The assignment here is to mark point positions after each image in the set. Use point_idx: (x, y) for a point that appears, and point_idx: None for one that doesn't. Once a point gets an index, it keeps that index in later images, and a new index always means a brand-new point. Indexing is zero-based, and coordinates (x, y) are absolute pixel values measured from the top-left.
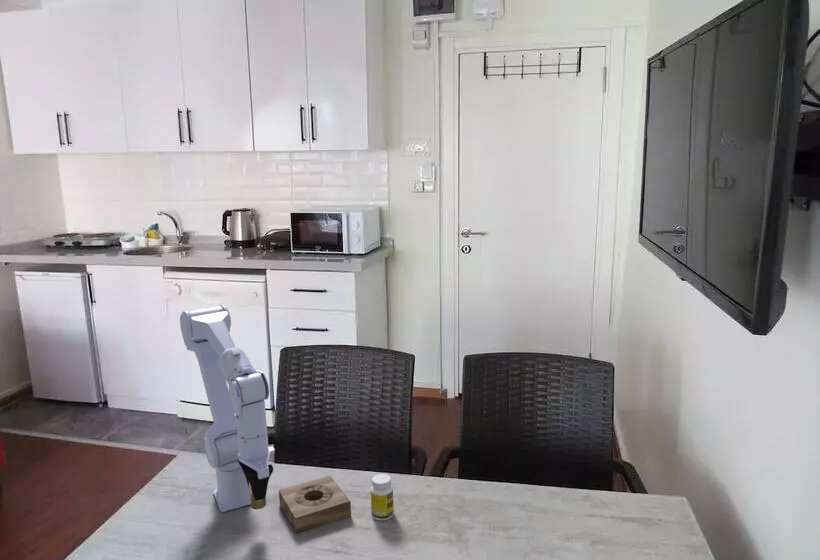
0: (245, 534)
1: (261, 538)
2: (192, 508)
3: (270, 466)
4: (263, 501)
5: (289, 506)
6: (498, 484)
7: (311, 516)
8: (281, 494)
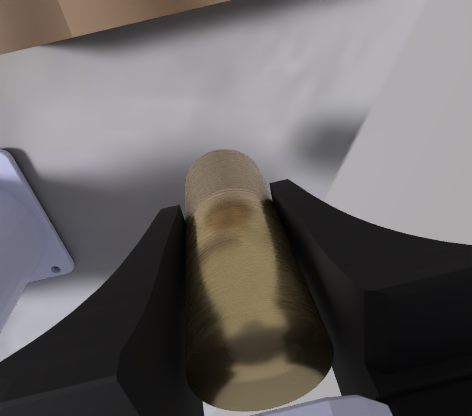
0: None
1: (271, 134)
2: (34, 338)
3: (451, 302)
4: (258, 175)
5: (193, 2)
6: None
7: None
8: (47, 42)
